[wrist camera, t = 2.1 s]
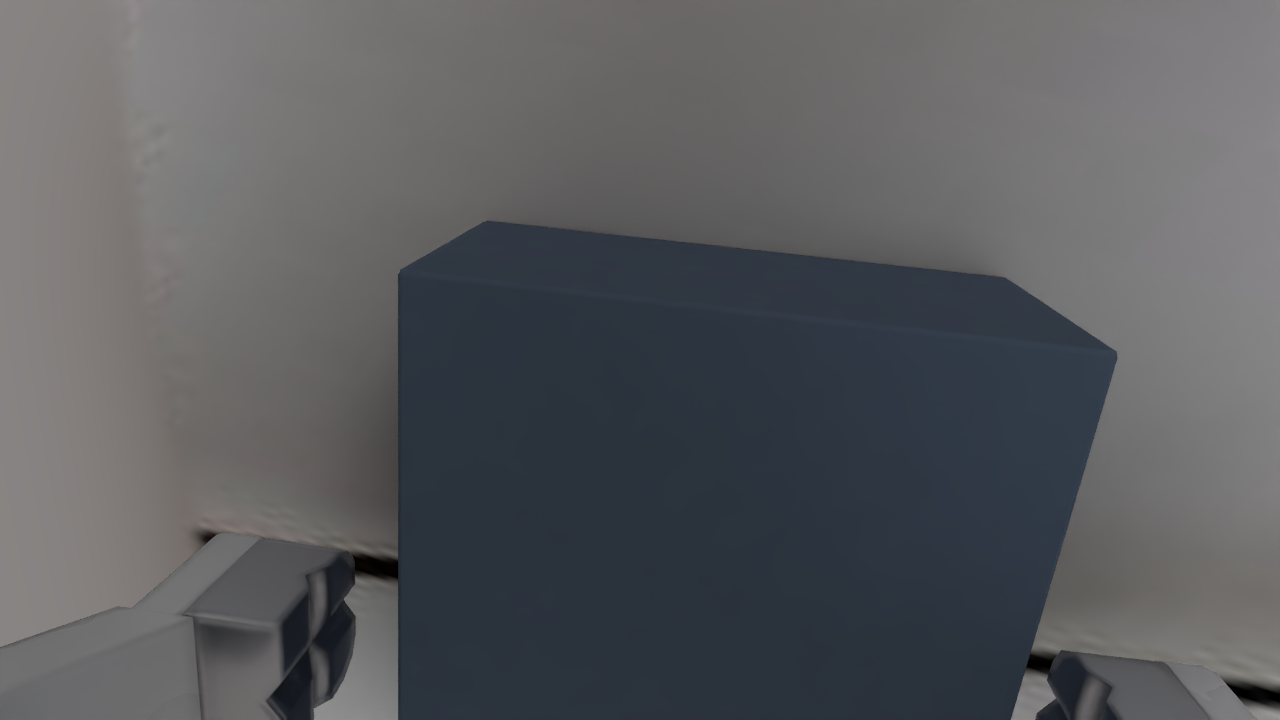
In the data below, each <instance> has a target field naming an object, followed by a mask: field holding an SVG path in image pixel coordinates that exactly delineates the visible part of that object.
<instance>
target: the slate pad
mask: <svg viewBox="0 0 1280 720" xmlns="http://www.w3.org/2000/svg"><path fill="white" fill-rule="evenodd" d="M1116 361H1117V352H1116V351H1115V350H1113V349H1112V348H1110V347H1109V346H1107V345H1106V344H1104V343H1103V342H1101V341H1100V340H1098V339H1097V338H1095V337H1094V336H1092V335H1091V334H1089V333H1088V332H1086V331H1085V330H1083V329H1082V328H1080V327H1079V326H1077V325H1076V324H1074V323H1073V322H1071V321H1070V320H1068V319H1067V318H1065V317H1064V316H1062V315H1061V314H1059V313H1058V312H1056V311H1055V310H1053V309H1052V308H1050V307H1049V306H1047V305H1046V304H1044V303H1043V302H1041V301H1040V300H1038V299H1037V298H1035V297H1034V296H1032V295H1031V294H1029V293H1028V292H1026V291H1025V290H1023V289H1022V288H1020V287H1019V286H1017V285H1016V284H1014V283H1013V282H1011V281H1010V280H1008V279H1006V278H1003V277H994V276H985V275H976V274H967V273H957V272H948V271H939V270H930V269H921V268H912V267H903V266H894V265H885V264H876V263H866V262H857V261H848V260H839V259H830V258H821V257H812V256H803V255H794V254H785V253H775V252H766V251H757V250H748V249H739V248H730V247H721V246H712V245H703V244H694V243H684V242H675V241H666V240H657V239H648V238H639V237H630V236H621V235H612V234H603V233H593V232H584V231H575V230H566V229H557V228H548V227H539V226H530V225H521V224H512V223H502V222H493V221H486V222H483V223H481V224H480V225H478V226H476V227H474V228H473V229H471V230H469V231H467V232H466V233H464V234H462V235H460V236H459V237H457V238H455V239H453V240H452V241H450V242H448V243H446V244H445V245H443V246H441V247H439V248H438V249H436V250H434V251H433V252H431V253H429V254H427V255H426V256H424V257H422V258H420V259H419V260H417V261H415V262H413V263H412V264H410V265H408V266H406V267H405V268H403V269H401V270H400V272H399V274H398V720H1011V717H1012V713H1013V710H1014V707H1015V703H1016V700H1017V696H1018V693H1019V690H1020V686H1021V683H1022V679H1023V676H1024V673H1025V669H1026V666H1027V662H1028V659H1029V656H1030V652H1031V649H1032V645H1033V642H1034V639H1035V635H1036V632H1037V629H1038V625H1039V622H1040V618H1041V615H1042V612H1043V608H1044V605H1045V601H1046V598H1047V595H1048V591H1049V588H1050V584H1051V581H1052V578H1053V574H1054V571H1055V568H1056V564H1057V561H1058V557H1059V554H1060V551H1061V547H1062V544H1063V540H1064V537H1065V534H1066V530H1067V527H1068V523H1069V520H1070V517H1071V513H1072V510H1073V506H1074V503H1075V500H1076V496H1077V493H1078V490H1079V486H1080V483H1081V479H1082V476H1083V473H1084V469H1085V466H1086V462H1087V459H1088V456H1089V452H1090V449H1091V445H1092V442H1093V439H1094V435H1095V432H1096V428H1097V425H1098V422H1099V418H1100V415H1101V412H1102V408H1103V405H1104V401H1105V398H1106V395H1107V391H1108V388H1109V384H1110V381H1111V378H1112V374H1113V371H1114V367H1115V364H1116Z"/></svg>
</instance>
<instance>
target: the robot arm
mask: <svg viewBox="0 0 1280 720" xmlns="http://www.w3.org/2000/svg"><path fill="white" fill-rule="evenodd" d="M354 585H355V571H354V558H353V557H352V556H351V554H350V553H349V551H347V550H340V549H334V548H328V547H321V546H315V545H309V544H303V543H296V542H290V541H284V540H277V539H271V538H268V539H266V538H264V537H259V536H252V535H244V534H236V533H222V534H217V535H216V536H215V537H213V538H212V539H211V540H210V541H209V542H208V543H206V544H205V545H204V546H203V547H202V548H201V549H200V550H198V551H197V552H196V553H195V554H194V555H193V556H191V557H190V558H189V559H188V560H187V561H186V562H184V563H183V564H182V565H181V566H180V567H179V568H178V569H177V570H175V571H174V572H173V573H172V574H171V575H169V576H168V577H167V578H166V579H165V580H164V581H163V582H161V583H160V584H159V585H158V586H157V587H156V588H154V589H153V590H152V591H151V592H150V593H149V594H147V595H146V596H145V597H144V598H143V599H142V600H141V601H139V602H138V603H137V604H136V605H135V606H134V607H132V608H126V607H115V608H112V609H109V610H106V611H103V612H100V613H98V614H95V615H92V616H89V617H86V618H83V619H80V620H78V621H74V622H72V623H69V624H66V625H63V626H60V627H57V628H54V629H51V630H48V631H46V632H43V633H40V634H37V635H34V636H31V637H28V638H25V639H22V640H20V641H17V642H14V643H11V644H8V645H5V646H2V647H0V720H314V708H316V707H317V706H319V705H321V704H323V703H325V702H327V701H329V700H330V699H332V698H333V697H334V695H335V693H336V692H337V690H338V688H339V687H340V685H341V684H342V682H343V680H344V678H345V675H346V672H347V669H348V666H349V664H350V661H351V658H352V655H353V648H354V641H355V635H356V616H355V615H354V614H353V612H352V611H351V609H350V608H349V607H348V605H347V604H346V602H345V601H344V598H345V597H346V596H347V594H348V593H349V591H350V590H351V589H352V587H353V586H354ZM1047 682H1048V684H1049V686H1050V687H1051V689H1052V691H1053V693H1054V695H1055V697H1056V699H1055V700H1053V701H1052V702H1051V703H1050V704H1048V705H1047V706H1046V707H1044V708H1043V709H1042V710H1040V711H1039V712H1038V713H1037V715H1036V719H1035V720H1257V719H1256V718H1255V717H1254V716H1253V715H1252V713H1251V712H1250V711H1249V710H1248V709H1247V708H1246V707H1245V705H1244V704H1243V703H1242V702H1241V701H1240V700H1239V698H1238V697H1237V696H1236V695H1235V694H1234V693H1233V692H1232V690H1231V689H1230V688H1229V687H1228V686H1227V685H1226V684H1225V682H1224V681H1223V680H1222V679H1221V678H1220V677H1219V675H1218V674H1217V673H1216V672H1214V671H1212V670H1210V669H1208V668H1206V667H1204V666H1203V665H1194V664H1184V663H1175V662H1165V661H1149V660H1141V659H1132V658H1124V657H1115V656H1107V655H1098V654H1090V653H1082V652H1073V651H1065V650H1061V651H1060V653H1059V654H1058V655H1057V657H1056V658H1055V659H1054V661H1053V663H1052V666H1051V669H1050V672H1049V675H1048V678H1047Z"/></svg>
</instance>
